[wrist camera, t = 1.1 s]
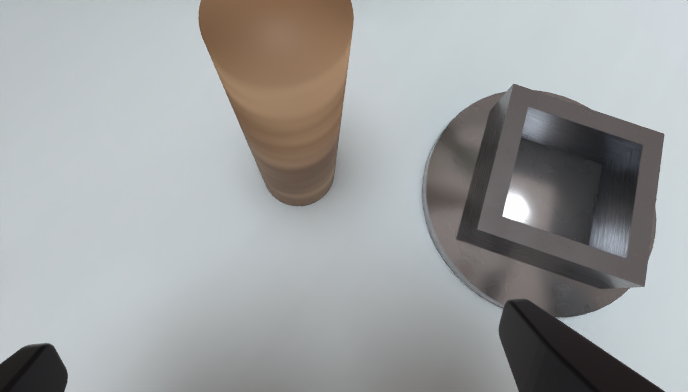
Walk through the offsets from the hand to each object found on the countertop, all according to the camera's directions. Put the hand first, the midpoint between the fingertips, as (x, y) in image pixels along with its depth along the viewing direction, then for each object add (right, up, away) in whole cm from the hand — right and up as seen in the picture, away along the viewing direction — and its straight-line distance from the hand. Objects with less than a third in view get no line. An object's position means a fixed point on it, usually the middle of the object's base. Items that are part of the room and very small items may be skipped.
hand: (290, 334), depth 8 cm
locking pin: (-1, +4, +15) cm, 16 cm away
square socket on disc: (+12, +3, +15) cm, 20 cm away
